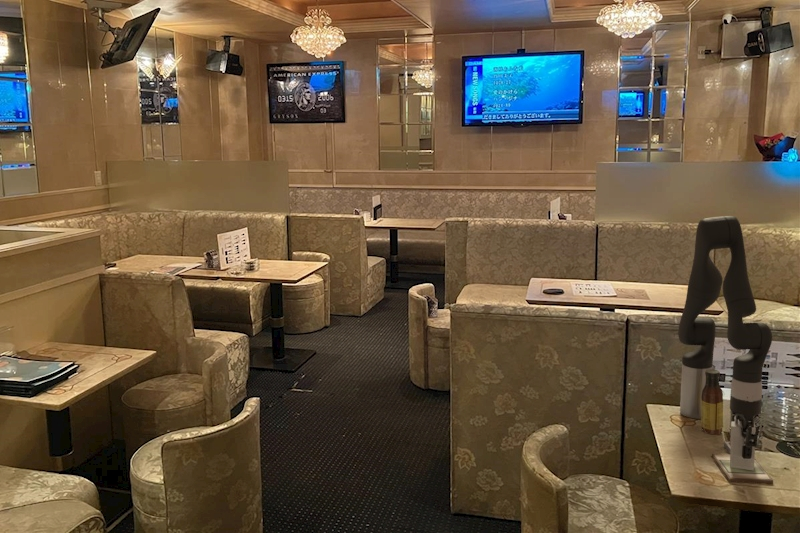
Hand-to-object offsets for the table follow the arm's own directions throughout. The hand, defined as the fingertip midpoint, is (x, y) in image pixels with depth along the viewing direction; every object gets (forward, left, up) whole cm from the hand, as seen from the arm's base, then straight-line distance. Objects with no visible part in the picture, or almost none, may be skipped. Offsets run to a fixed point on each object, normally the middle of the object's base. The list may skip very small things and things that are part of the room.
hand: (742, 452), depth 183 cm
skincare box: (0, 0, -4) cm, 4 cm away
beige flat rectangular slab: (0, 0, -5) cm, 5 cm away
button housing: (-11, +3, -5) cm, 13 cm away
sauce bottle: (-26, 0, -5) cm, 27 cm away
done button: (-11, +3, -4) cm, 12 cm away
